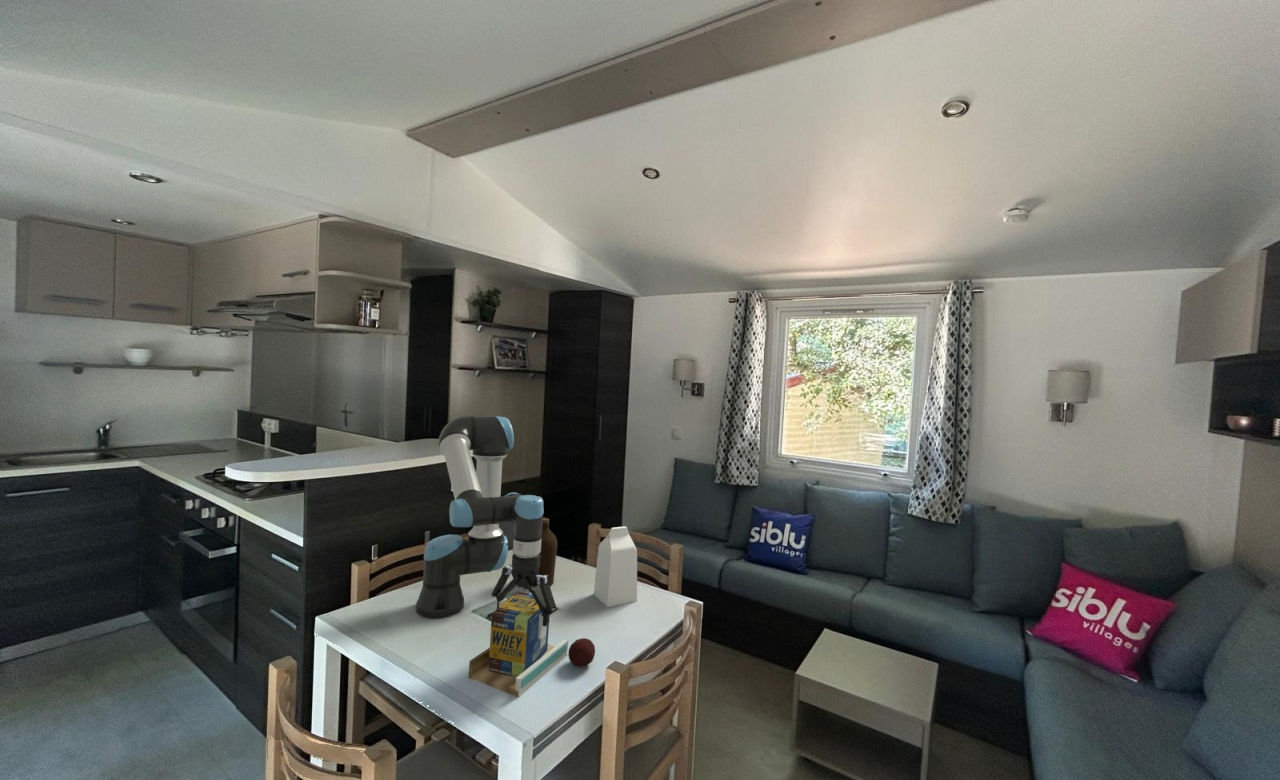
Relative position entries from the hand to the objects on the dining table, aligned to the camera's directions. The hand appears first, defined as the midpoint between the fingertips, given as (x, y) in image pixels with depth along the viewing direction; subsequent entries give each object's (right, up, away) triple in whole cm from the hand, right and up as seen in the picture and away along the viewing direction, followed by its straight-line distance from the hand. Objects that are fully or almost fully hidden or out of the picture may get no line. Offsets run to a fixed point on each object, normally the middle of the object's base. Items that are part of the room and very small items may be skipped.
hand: (521, 629), depth 139 cm
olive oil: (-6, -9, +56) cm, 57 cm away
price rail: (+7, -10, -3) cm, 13 cm away
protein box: (-1, -9, 0) cm, 9 cm away
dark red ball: (+16, -11, +2) cm, 20 cm away
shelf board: (0, -10, 0) cm, 10 cm away
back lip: (-7, -9, +3) cm, 12 cm away
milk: (+23, -11, +47) cm, 54 cm away
